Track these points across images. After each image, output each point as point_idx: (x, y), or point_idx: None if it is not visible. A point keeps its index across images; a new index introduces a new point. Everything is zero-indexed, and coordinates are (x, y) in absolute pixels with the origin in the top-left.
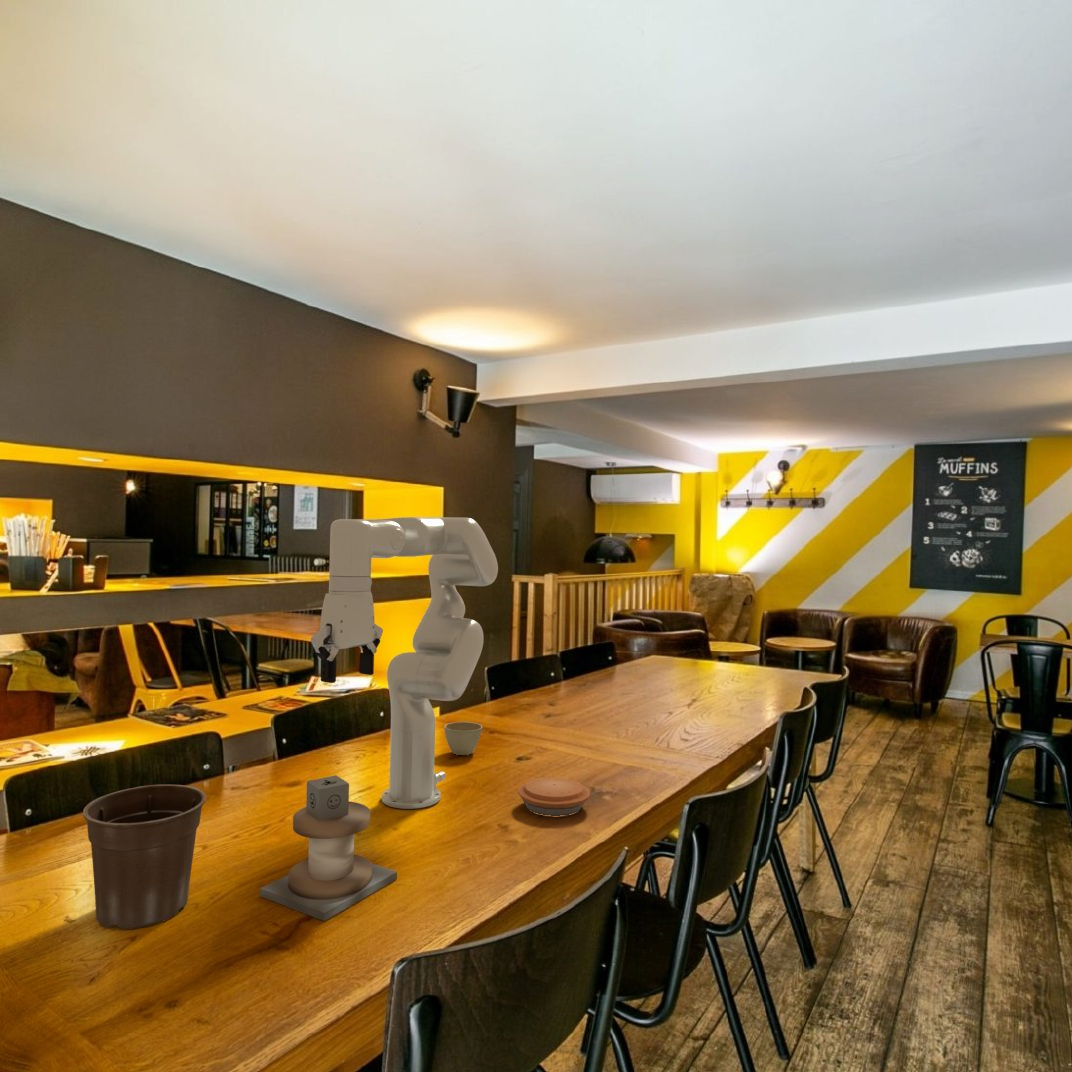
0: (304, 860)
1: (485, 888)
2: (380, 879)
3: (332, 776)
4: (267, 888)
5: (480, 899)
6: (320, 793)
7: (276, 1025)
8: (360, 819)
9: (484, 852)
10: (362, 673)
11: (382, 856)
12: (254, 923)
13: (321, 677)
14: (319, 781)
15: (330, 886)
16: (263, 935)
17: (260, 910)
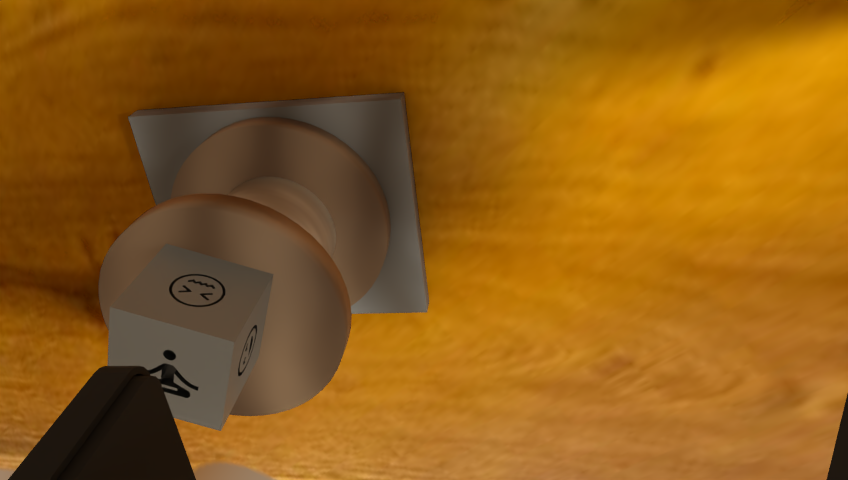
0: (258, 129)
1: (518, 458)
2: (370, 308)
3: (215, 341)
4: (142, 131)
5: (473, 471)
6: None
7: (16, 437)
8: (262, 405)
9: (684, 375)
10: (841, 419)
11: (503, 187)
12: (82, 203)
13: (85, 401)
14: (147, 344)
15: None
16: (81, 254)
17: (113, 168)
